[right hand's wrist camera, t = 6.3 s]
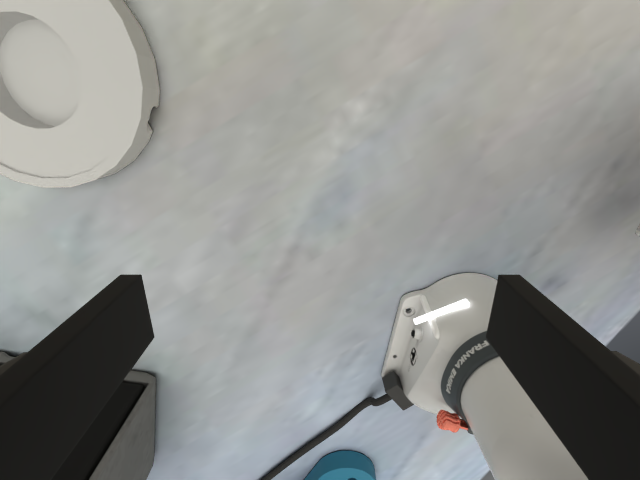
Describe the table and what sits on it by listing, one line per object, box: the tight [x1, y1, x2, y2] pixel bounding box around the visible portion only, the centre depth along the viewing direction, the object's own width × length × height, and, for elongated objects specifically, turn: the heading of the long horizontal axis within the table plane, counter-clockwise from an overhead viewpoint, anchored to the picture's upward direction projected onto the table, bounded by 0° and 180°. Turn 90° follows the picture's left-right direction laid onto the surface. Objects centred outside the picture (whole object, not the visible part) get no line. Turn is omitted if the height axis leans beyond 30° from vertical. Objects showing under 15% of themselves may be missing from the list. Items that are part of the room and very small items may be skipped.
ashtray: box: [0, 0, 160, 188], centre depth 36 cm, size 23×23×4 cm
